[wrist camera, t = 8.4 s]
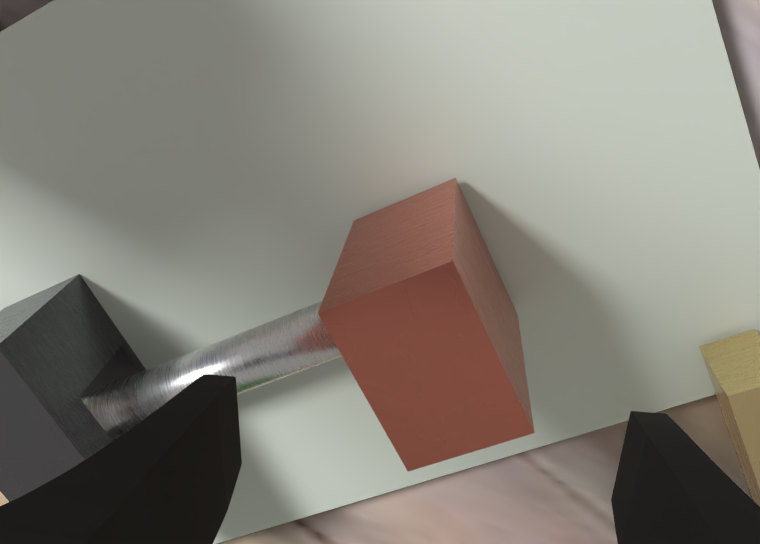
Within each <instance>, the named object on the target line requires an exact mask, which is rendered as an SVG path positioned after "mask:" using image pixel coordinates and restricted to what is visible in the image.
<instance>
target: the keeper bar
mask: <svg viewBox="0 0 760 544" xmlns="http://www.w3.org/2000/svg"><path fill="white" fill-rule="evenodd" d="M699 348H700V351H701V354H702V356H703V359H704V362H705V365H706V368H707V371H708V374H709V376H710V379H711V382H712V385H713V388H714V391H715V394H716V396H717V399H718V402H719V405H720V408H721V411H722V414H723V416H724V419H725V422H726V425H727V428H728V431H729V434H730V436H731V439H732V442H733V445H734V448H735V451H736V454H737V456H738V459H739V462H740V465H741V468H742V471H743V474H744V476H745V479H746V482H747V485H748V488H749V491H750V494H751V496H752V499H753V501H754V502H755V503H756V504H757V505H758V506H759V507H760V336H759V334H758V333H757V331H756V330H755V329H753V330H749V331H746V332H743V333H740V334H737V335H734V336H731V337H727V338H724V339H721V340H718V341H715V342H712V343H709V344H706V345H702V346H699Z"/></svg>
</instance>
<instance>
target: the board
mask: <svg viewBox="0 0 760 544" xmlns="http://www.w3.org/2000/svg"><path fill="white" fill-rule="evenodd" d="M453 178H456V179H457V181H458V184H459V186H460V188H461V190H462V192H463V195H464V197H465V199H466V201H467V204H468V206H469V208H470V210H471V212H472V215H473V217H474V219H475V221H476V224H477V226H478V228H479V230H480V232H481V235H482V237H483V239H484V241H485V243H486V246H487V248H488V250H489V252H490V255H491V257H492V259H493V261H494V263H495V266H496V268H497V270H498V272H499V275H500V277H501V279H502V281H503V283H504V286H505V288H506V290H507V292H508V294H509V297H510V299H511V301H512V303H513V306H514V308H515V310H516V312H517V314H518V320H519V327H520V334H521V341H522V349H523V356H524V363H525V370H526V377H527V384H528V391H529V398H530V405H531V412H532V419H533V426H534V433H533V434H530V435H527V436H523V437H520V438H517V439H513V440H510V441H507V442H504V443H500V444H497V445H494V446H491V447H487V448H484V449H481V450H477V451H474V452H471V453H468V454H464V455H461V456H458V457H455V458H451V459H448V460H445V461H441V462H438V463H435V464H432V465H428V466H425V467H422V468H418V469H415V470H412V471H409V472H408V471H407V469H406V468H405V466H404V464H403V462H402V461H401V459H400V457H399V455H398V454H397V452H396V450H395V448H394V446H393V445H392V443H391V441H390V439H389V438H388V436H387V434H386V432H385V431H384V429H383V427H382V425H381V424H380V422H379V420H378V418H377V417H376V415H375V413H374V411H373V410H372V408H371V406H370V404H369V403H368V401H367V399H366V397H365V395H364V394H363V392H362V390H361V388H360V387H359V385H358V383H357V381H356V380H355V378H354V376H353V374H352V373H351V371H350V369H349V367H348V366H347V364H346V362H345V360H344V359H343V357H342V356H341V357H339V358H336V359H333V360H330V361H328V362H325V363H322V364H319V365H317V366H314V367H311V368H309V369H306V370H303V371H300V372H298V373H295V374H292V375H289V376H287V377H284V378H281V379H278V380H276V381H273V382H270V383H267V384H265V385H262V386H259V387H256V388H254V389H251V390H248V391H245V392H243V393H240V394H237V401H238V416H239V430H240V444H241V458H242V465H241V468H240V472H239V475H238V478H237V482H236V485H235V489H234V492H233V495H232V498H231V501H230V504H229V507H228V510H227V513H226V515H225V518H224V520H223V522H222V524H221V527H220V529H219V531H218V533H217V536H216V538H215V540H214V542H213V544H217V543H220V542H224V541H227V540H230V539H234V538H237V537H240V536H244V535H247V534H250V533H254V532H257V531H260V530H264V529H267V528H270V527H274V526H277V525H281V524H284V523H287V522H291V521H294V520H297V519H301V518H304V517H307V516H311V515H314V514H317V513H321V512H324V511H327V510H331V509H334V508H337V507H341V506H344V505H347V504H351V503H354V502H357V501H361V500H364V499H367V498H371V497H374V496H378V495H381V494H384V493H388V492H391V491H394V490H398V489H401V488H404V487H408V486H411V485H414V484H418V483H421V482H424V481H428V480H431V479H434V478H438V477H441V476H444V475H448V474H451V473H454V472H458V471H461V470H464V469H468V468H471V467H475V466H478V465H481V464H485V463H488V462H491V461H495V460H498V459H501V458H505V457H508V456H511V455H515V454H518V453H521V452H525V451H528V450H531V449H535V448H538V447H541V446H545V445H548V444H551V443H555V442H558V441H561V440H565V439H568V438H572V437H575V436H578V435H582V434H585V433H588V432H592V431H595V430H598V429H602V428H605V427H608V426H612V425H615V424H618V423H622V422H625V421H628V420H629V417H630V412H631V411H638V412H650V413H655V412H658V411H662V410H665V409H669V408H672V407H675V406H679V405H682V404H685V403H689V402H692V401H695V400H699V399H702V398H705V397H709V396H712V395H715V391H714V388H713V385H712V382H711V379H710V376H709V374H708V371H707V368H706V365H705V362H704V359H703V356H702V354H701V351H700V348H699V346H702V345H706V344H709V343H712V342H715V341H718V340H721V339H724V338H727V337H731V336H734V335H737V334H740V333H743V332H746V331H749V330H753V329H755V330H756V331H757V333H758V334H759V336H760V169H759V165H758V162H757V158H756V155H755V151H754V148H753V144H752V141H751V137H750V134H749V130H748V126H747V123H746V119H745V116H744V112H743V109H742V105H741V102H740V98H739V95H738V91H737V88H736V84H735V81H734V77H733V74H732V70H731V66H730V63H729V59H728V56H727V52H726V49H725V45H724V42H723V38H722V35H721V31H720V28H719V24H718V21H717V17H716V13H715V10H714V6H713V3H712V0H53V1H51V2H49V3H48V4H46V5H44V6H43V7H41V8H39V9H38V10H36V11H34V12H33V13H31V14H29V15H28V16H26V17H24V18H23V19H21V20H19V21H18V22H16V23H14V24H12V25H11V26H9V27H7V28H6V29H4V30H2V31H1V32H0V311H1V310H2V309H4V308H5V307H7V306H10V305H12V304H14V303H16V302H18V301H21V300H23V299H25V298H27V297H29V296H32V295H34V294H36V293H38V292H41V291H43V290H45V289H47V288H49V287H52V286H54V285H56V284H58V283H60V282H63V281H65V280H67V279H69V278H72V277H74V276H76V275H78V274H80V275H81V277H82V278H83V279H84V281H85V282H86V284H87V285H88V287H89V288H90V290H91V291H92V292H93V294H94V295H95V297H96V298H97V300H98V301H99V303H100V304H101V305H102V307H103V308H104V310H105V311H106V313H107V314H108V316H109V317H110V318H111V320H112V321H113V323H114V324H115V326H116V327H117V329H118V330H119V331H120V333H121V334H122V336H123V337H124V339H125V340H126V341H127V343H128V344H129V346H130V347H131V349H132V350H133V352H134V353H135V354H136V356H137V357H138V359H139V360H140V362H141V363H142V365H143V366H144V367H145V369H146V370H147V369H150V368H152V367H155V366H157V365H160V364H162V363H165V362H168V361H170V360H173V359H175V358H178V357H180V356H183V355H185V354H188V353H190V352H193V351H196V350H198V349H201V348H203V347H206V346H208V345H211V344H213V343H216V342H219V341H221V340H224V339H226V338H229V337H231V336H234V335H236V334H239V333H242V332H244V331H247V330H249V329H252V328H254V327H257V326H259V325H262V324H264V323H267V322H270V321H272V320H275V319H277V318H280V317H282V316H285V315H287V314H290V313H293V312H295V311H298V310H300V309H303V308H305V307H308V306H310V305H313V304H316V303H318V302H321V301H323V298H324V296H325V293H326V291H327V288H328V286H329V283H330V280H331V278H332V275H333V273H334V270H335V268H336V265H337V262H338V260H339V257H340V255H341V252H342V250H343V247H344V244H345V242H346V239H347V237H348V234H349V232H350V229H351V227H352V224H353V221H354V220H356V219H359V218H361V217H363V216H366V215H368V214H370V213H373V212H375V211H378V210H380V209H382V208H385V207H387V206H389V205H392V204H394V203H397V202H399V201H401V200H404V199H406V198H408V197H411V196H413V195H416V194H418V193H420V192H423V191H425V190H427V189H430V188H432V187H434V186H437V185H439V184H442V183H444V182H446V181H449V180H451V179H453Z"/></svg>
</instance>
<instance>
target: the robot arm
mask: <svg viewBox="0 0 760 544" xmlns="http://www.w3.org/2000/svg"><path fill="white" fill-rule="evenodd" d="M241 465H242V458H241V444H240V430H239V416H238V401H237V387H236V377H234V376H222V375H211V374H203V375H202V376H201V377H199V378H198V379H196V380H195V381H194V382H192V383H191V384H190V385H188V386H187V387H186V388H184V389H183V390H182V391H181V392H179V393H178V394H177V395H175V396H174V397H173V398H172V399H170V400H169V401H168V402H166V403H165V404H164V405H162V406H161V407H160V408H158V409H157V410H156V411H154V412H153V413H152V414H150V415H149V416H148V417H146V418H145V419H144V420H142V421H141V422H140V423H138V424H137V425H136V426H134V427H133V428H132V429H130V430H129V431H127V432H126V433H124V434H123V435H122V436H120V437H119V438H117V439H116V440H114V441H113V442H111V443H110V444H108V445H107V446H105V447H104V448H102V449H101V450H99V451H98V452H96V453H95V454H93V455H92V456H90V457H89V458H87V459H86V460H84V461H83V462H81V463H80V464H78V465H76V466H75V467H73V468H71V469H70V470H68V471H66V472H65V473H63V474H61V475H60V476H58V477H56V478H54V479H53V480H51V481H49V482H47V483H45V484H43V485H42V486H40V487H38V488H36V489H34V490H33V491H31V492H29V493H27V494H25V495H23V496H21V497H19V498H17V499H15V500H13V501H11V502H9V503H7V504H5V505H2V506H0V544H213V542H214V540H215V538H216V536H217V533H218V531H219V529H220V527H221V524H222V522H223V520H224V518H225V515H226V513H227V510H228V507H229V504H230V501H231V498H232V495H233V492H234V489H235V485H236V482H237V478H238V475H239V472H240V468H241ZM611 500H612V507H613V514H614V521H615V528H616V535H617V541H618V544H760V507H759V506H758V505H757V504H756V503H755V502H754V501H753V500H752V499H751V498H750V497H749V496H748V495H747V494H746V493H744V492H743V491H742V490H741V489H740V488H739V487H738V486H737V485H736V484H735V483H734V482H733V481H732V480H731V479H730V478H729V477H728V476H727V475H726V474H725V473H724V472H723V471H722V470H721V469H720V468H719V467H718V466H717V465H716V464H715V463H714V462H713V461H712V460H711V459H710V458H709V457H708V456H707V455H706V454H705V453H704V452H703V451H702V450H701V449H700V448H699V447H698V446H697V445H696V444H695V443H694V441H693V440H692V439H691V438H690V437H689V436H688V435H687V434H686V433H685V432H684V431H683V430H682V429H681V428H680V427H679V426H678V425H677V424H676V423H675V422H674V421H673V420H672V419H671V418H670V417H669V416H668V415H667V414H661V413H650V412H638V411H631V412H630V417H629V421H628V426H627V430H626V435H625V440H624V444H623V449H622V453H621V458H620V463H619V467H618V472H617V476H616V481H615V485H614V490H613V495H612V499H611Z"/></svg>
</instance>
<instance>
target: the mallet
mask: <svg viewBox="0 0 760 544" xmlns="http://www.w3.org/2000/svg"><path fill="white" fill-rule="evenodd" d="M341 356H342V357H343V359H344V360H345V362H346V364H347V366H348V367H349V369H350V371H351V373H352V374H353V376H354V378H355V380H356V381H357V383H358V385H359V387H360V388H361V390H362V392H363V394H364V395H365V397H366V399H367V401H368V403H369V404H370V406H371V408H372V410H373V411H374V413H375V415H376V417H377V418H378V420H379V422H380V424H381V425H382V427H383V429H384V431H385V432H386V434H387V436H388V438H389V439H390V441H391V443H392V445H393V446H394V448H395V450H396V452H397V454H398V455H399V457H400V459H401V461H402V462H403V464H404V466H405V468H406V469H407V471H408V472H409V471H412V470H415V469H418V468H422V467H425V466H428V465H432V464H435V463H438V462H441V461H445V460H448V459H451V458H455V457H458V456H461V455H464V454H468V453H471V452H474V451H477V450H481V449H484V448H487V447H491V446H494V445H497V444H500V443H504V442H507V441H510V440H513V439H517V438H520V437H523V436H527V435H530V434H533V433H534V426H533V419H532V412H531V405H530V398H529V391H528V384H527V377H526V370H525V363H524V356H523V349H522V341H521V334H520V327H519V320H518V314H517V312H516V310H515V308H514V306H513V303H512V301H511V299H510V297H509V294H508V292H507V290H506V288H505V286H504V283H503V281H502V279H501V277H500V275H499V272H498V270H497V268H496V266H495V263H494V261H493V259H492V257H491V255H490V252H489V250H488V248H487V246H486V243H485V241H484V239H483V237H482V235H481V232H480V230H479V228H478V226H477V224H476V221H475V219H474V217H473V215H472V212H471V210H470V208H469V206H468V204H467V201H466V199H465V197H464V195H463V192H462V190H461V188H460V186H459V184H458V181H457V179H456V178H453V179H451V180H449V181H446V182H444V183H442V184H439V185H437V186H434V187H432V188H430V189H427V190H425V191H423V192H420V193H418V194H416V195H413V196H411V197H408V198H406V199H404V200H401V201H399V202H397V203H394V204H392V205H389V206H387V207H385V208H382V209H380V210H378V211H375V212H373V213H370V214H368V215H366V216H363V217H361V218H359V219H356V220H354V221H353V224H352V227H351V229H350V232H349V234H348V237H347V239H346V242H345V244H344V247H343V250H342V252H341V255H340V257H339V260H338V262H337V265H336V268H335V270H334V273H333V275H332V278H331V280H330V283H329V286H328V288H327V291H326V293H325V296H324V298H323V301H321V302H318V303H316V304H313V305H310V306H308V307H305V308H303V309H300V310H298V311H295V312H293V313H290V314H287V315H285V316H282V317H280V318H277V319H275V320H272V321H270V322H267V323H264V324H262V325H259V326H257V327H254V328H252V329H249V330H247V331H244V332H242V333H239V334H236V335H234V336H231V337H229V338H226V339H224V340H221V341H219V342H216V343H213V344H211V345H208V346H206V347H203V348H201V349H198V350H196V351H193V352H190V353H188V354H185V355H183V356H180V357H178V358H175V359H173V360H170V361H168V362H165V363H162V364H160V365H157V366H155V367H152V368H150V369H147V370H145V371H142V372H139V373H137V374H134V375H132V376H129V377H127V378H124V379H122V380H119V381H117V382H114V383H111V384H109V385H106V386H104V387H101V388H99V389H96V390H94V391H91V392H88V393H86V394H83V395H81V396H79V397H80V399H81V400H82V401H83V403H84V404H85V405H86V407H87V408H88V409H89V411H90V412H91V413H92V415H93V416H94V417H95V419H96V420H97V421H98V423H99V424H100V425H101V427H102V428H103V429H104V431H105V432H106V433H107V435H108V436H109V437H110V439H111V440H114V439H116V438H119V437H120V436H122V435H123V434H124V433H126V432H127V431H129V430H130V429H132V428H133V427H134V426H136V425H137V424H138V423H140V422H141V421H142V420H144V419H145V418H146V417H148V416H149V415H150V414H152V413H153V412H154V411H156V410H157V409H158V408H160V407H161V406H162V405H164V404H165V403H166V402H168V401H169V400H170V399H172V398H173V397H174V396H175V395H177V394H178V393H179V392H181V391H182V390H183V389H184V388H186V387H187V386H188V385H190V384H191V383H192V382H194V381H195V380H196V379H198V378H199V377H201V376H202V375H203V374H211V375H222V376H234V377H236V387H237V394H240V393H243V392H245V391H248V390H251V389H254V388H256V387H259V386H262V385H265V384H267V383H270V382H273V381H276V380H278V379H281V378H284V377H287V376H289V375H292V374H295V373H298V372H300V371H303V370H306V369H309V368H311V367H314V366H317V365H319V364H322V363H325V362H328V361H330V360H333V359H336V358H339V357H341Z"/></svg>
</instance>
